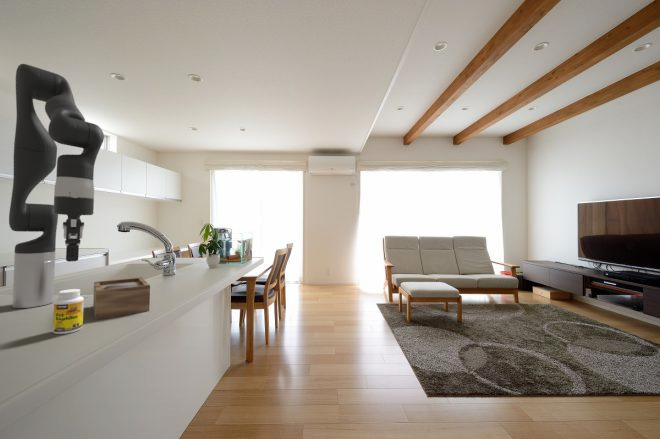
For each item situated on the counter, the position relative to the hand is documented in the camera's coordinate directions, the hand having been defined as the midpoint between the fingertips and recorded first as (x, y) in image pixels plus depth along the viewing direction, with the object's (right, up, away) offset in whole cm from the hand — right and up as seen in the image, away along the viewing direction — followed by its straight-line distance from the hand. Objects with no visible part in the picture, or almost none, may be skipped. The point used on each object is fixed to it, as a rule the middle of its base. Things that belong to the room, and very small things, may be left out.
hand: (72, 259), depth 70 cm
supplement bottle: (-1, -18, -1) cm, 18 cm away
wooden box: (-1, -19, +18) cm, 26 cm away
